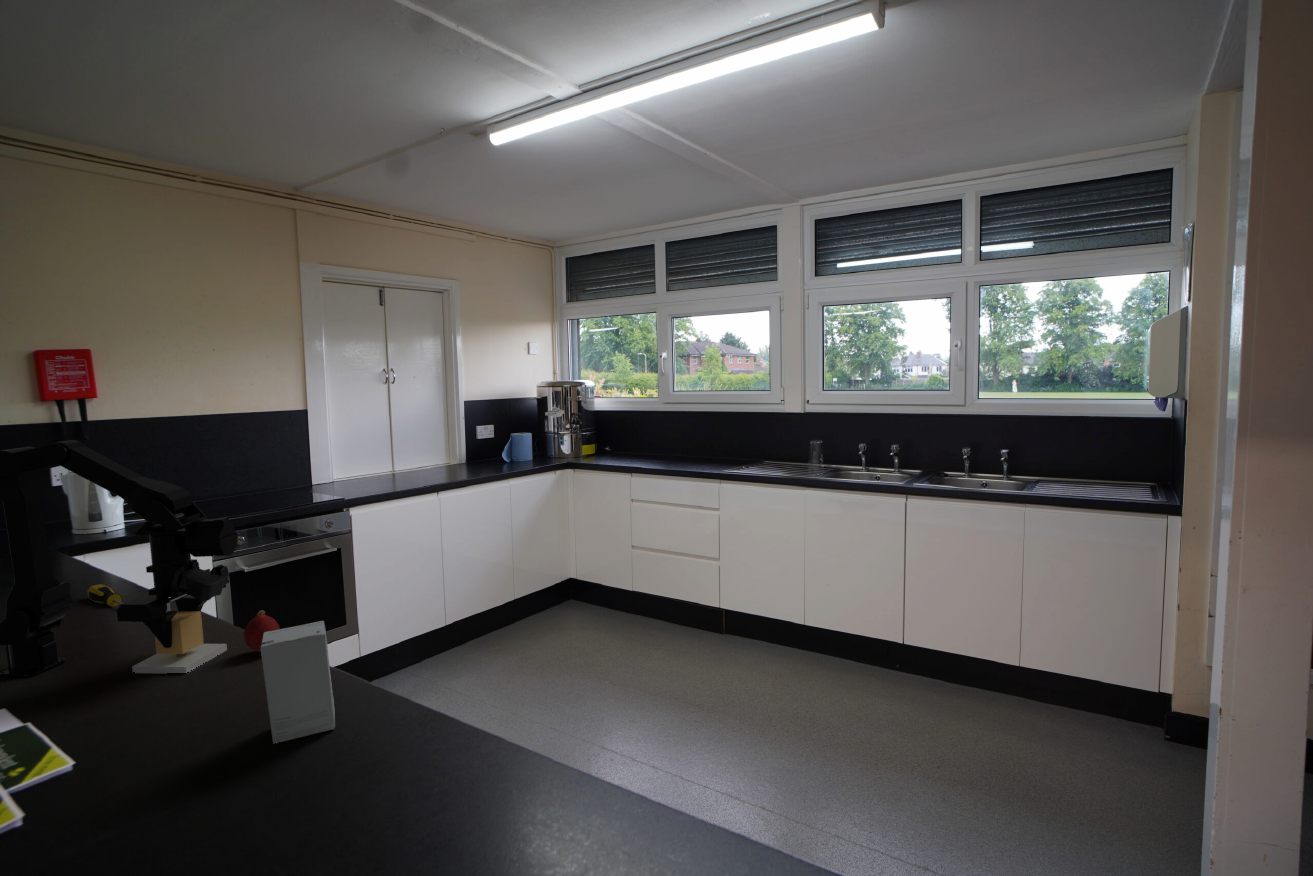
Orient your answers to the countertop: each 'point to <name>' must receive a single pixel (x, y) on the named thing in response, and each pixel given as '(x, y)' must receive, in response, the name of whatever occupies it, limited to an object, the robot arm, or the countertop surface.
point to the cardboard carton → (183, 633)
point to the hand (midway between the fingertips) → (179, 641)
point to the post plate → (180, 660)
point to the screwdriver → (104, 595)
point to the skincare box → (298, 681)
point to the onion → (258, 630)
